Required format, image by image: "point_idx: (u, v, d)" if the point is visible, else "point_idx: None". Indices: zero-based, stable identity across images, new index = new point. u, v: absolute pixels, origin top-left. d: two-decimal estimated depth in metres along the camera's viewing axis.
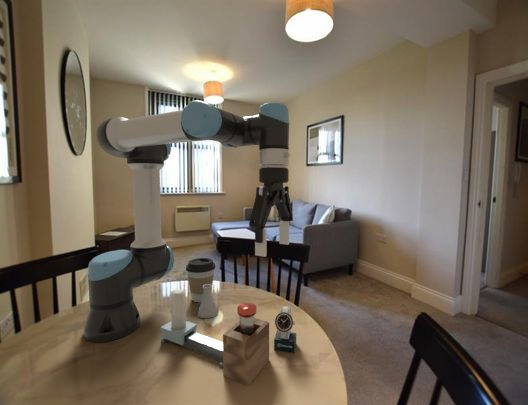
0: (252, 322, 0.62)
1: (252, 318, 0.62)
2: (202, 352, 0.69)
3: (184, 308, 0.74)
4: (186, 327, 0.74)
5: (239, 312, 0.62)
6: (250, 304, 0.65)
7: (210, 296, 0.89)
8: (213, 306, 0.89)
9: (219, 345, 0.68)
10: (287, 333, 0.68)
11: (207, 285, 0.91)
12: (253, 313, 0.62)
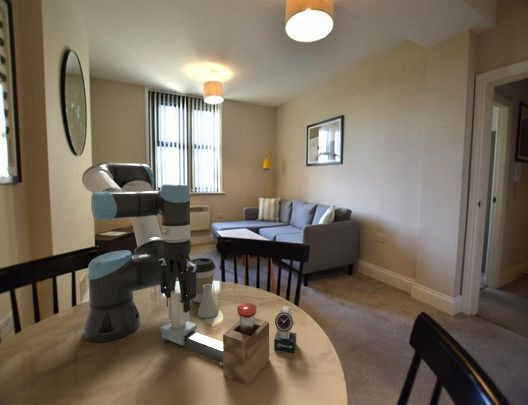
0: (252, 322, 0.62)
1: (252, 318, 0.62)
2: (202, 352, 0.69)
3: None
4: (186, 327, 0.74)
5: (239, 312, 0.62)
6: (250, 304, 0.65)
7: (210, 296, 0.89)
8: (213, 306, 0.89)
9: (219, 345, 0.68)
10: (287, 333, 0.68)
11: (207, 285, 0.91)
12: (253, 313, 0.62)
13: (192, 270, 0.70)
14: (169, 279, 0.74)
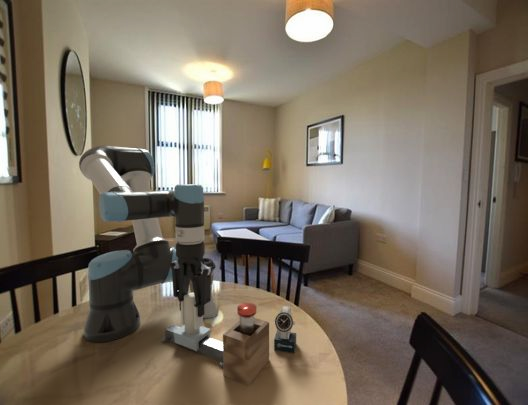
0: (252, 322, 0.62)
1: (252, 318, 0.62)
2: (202, 352, 0.69)
3: None
4: (200, 332, 0.72)
5: (239, 312, 0.62)
6: (250, 304, 0.65)
7: None
8: (213, 306, 0.89)
9: (219, 345, 0.68)
10: (287, 333, 0.68)
11: None
12: (253, 313, 0.62)
13: (207, 273, 0.68)
14: (182, 282, 0.71)
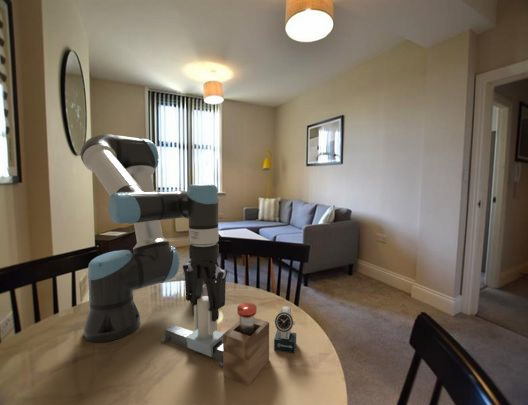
0: (252, 322, 0.62)
1: (252, 318, 0.62)
2: None
3: None
4: (214, 337, 0.69)
5: (239, 312, 0.62)
6: (250, 304, 0.65)
7: None
8: None
9: (219, 345, 0.68)
10: (287, 333, 0.68)
11: None
12: (253, 313, 0.62)
13: (222, 276, 0.65)
14: (196, 286, 0.69)
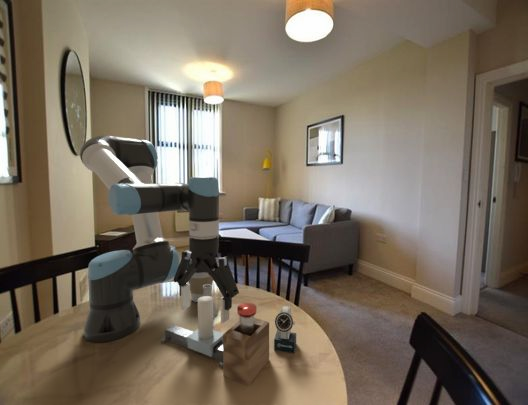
0: (252, 322, 0.62)
1: (252, 318, 0.62)
2: None
3: (212, 317, 0.69)
4: (214, 337, 0.69)
5: (239, 312, 0.62)
6: (250, 304, 0.65)
7: (210, 296, 0.89)
8: (213, 306, 0.89)
9: (219, 345, 0.68)
10: (287, 333, 0.68)
11: (207, 285, 0.91)
12: (253, 313, 0.62)
13: (223, 262, 0.65)
14: (189, 273, 0.70)
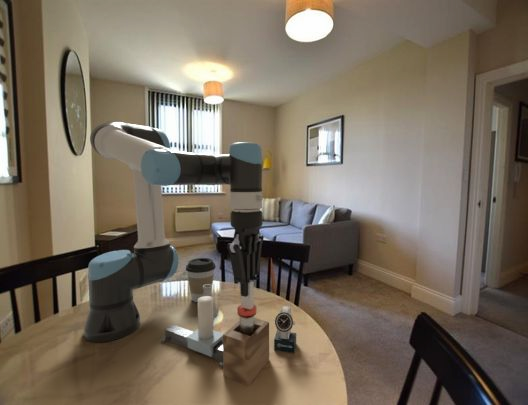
0: (252, 323, 0.62)
1: (252, 318, 0.62)
2: None
3: (212, 317, 0.69)
4: (214, 337, 0.69)
5: (239, 313, 0.62)
6: None
7: (210, 296, 0.89)
8: (213, 306, 0.89)
9: (219, 345, 0.68)
10: (287, 333, 0.68)
11: (207, 285, 0.91)
12: (253, 314, 0.62)
13: None
14: (248, 259, 0.61)
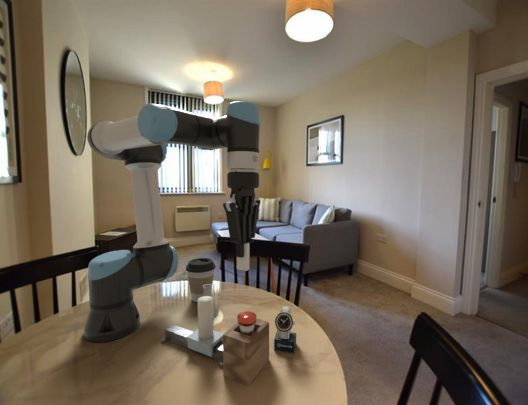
0: (252, 331, 0.63)
1: (252, 326, 0.63)
2: None
3: (212, 317, 0.69)
4: (214, 337, 0.69)
5: (239, 321, 0.62)
6: (250, 313, 0.65)
7: (210, 296, 0.89)
8: (213, 306, 0.89)
9: (219, 345, 0.68)
10: (287, 333, 0.68)
11: (207, 285, 0.91)
12: (253, 322, 0.62)
13: None
14: (245, 220, 0.61)
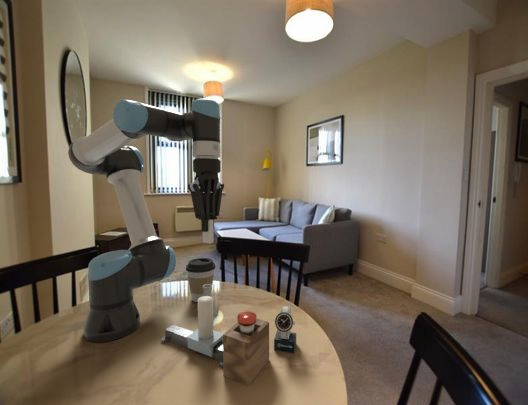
0: (252, 331, 0.63)
1: (252, 326, 0.63)
2: None
3: (212, 317, 0.69)
4: (214, 337, 0.69)
5: (239, 321, 0.62)
6: (250, 313, 0.65)
7: (210, 296, 0.89)
8: (213, 306, 0.89)
9: (219, 345, 0.68)
10: (287, 333, 0.68)
11: (207, 285, 0.91)
12: (253, 322, 0.62)
13: None
14: (208, 200, 0.72)
